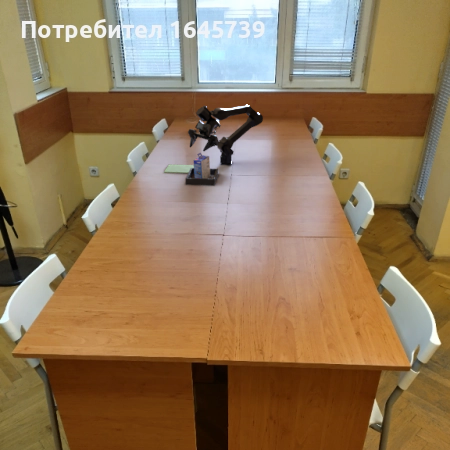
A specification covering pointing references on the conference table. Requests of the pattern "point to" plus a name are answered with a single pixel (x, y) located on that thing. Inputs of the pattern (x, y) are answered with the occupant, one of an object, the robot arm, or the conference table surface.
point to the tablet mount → (204, 123)
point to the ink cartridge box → (202, 166)
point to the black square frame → (201, 180)
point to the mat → (178, 168)
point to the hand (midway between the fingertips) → (196, 149)
